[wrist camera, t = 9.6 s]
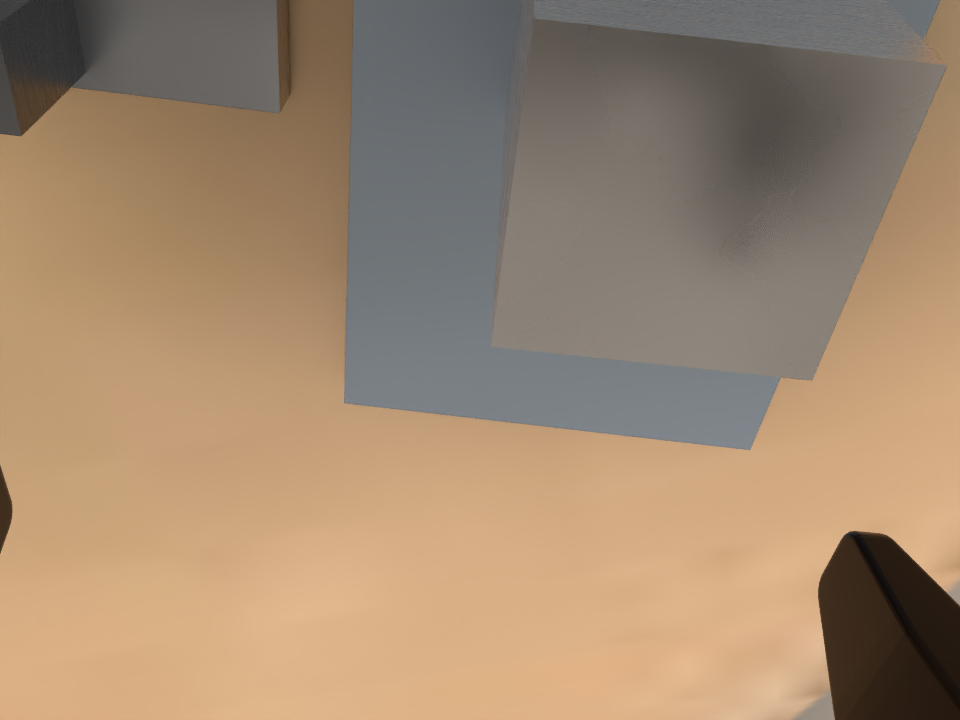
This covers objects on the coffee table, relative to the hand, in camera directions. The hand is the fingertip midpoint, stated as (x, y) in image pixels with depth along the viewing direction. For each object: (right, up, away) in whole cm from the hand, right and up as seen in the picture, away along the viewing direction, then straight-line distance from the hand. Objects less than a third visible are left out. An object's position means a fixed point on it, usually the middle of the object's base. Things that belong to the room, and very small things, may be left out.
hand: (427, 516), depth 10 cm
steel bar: (+4, +8, +8) cm, 12 cm away
